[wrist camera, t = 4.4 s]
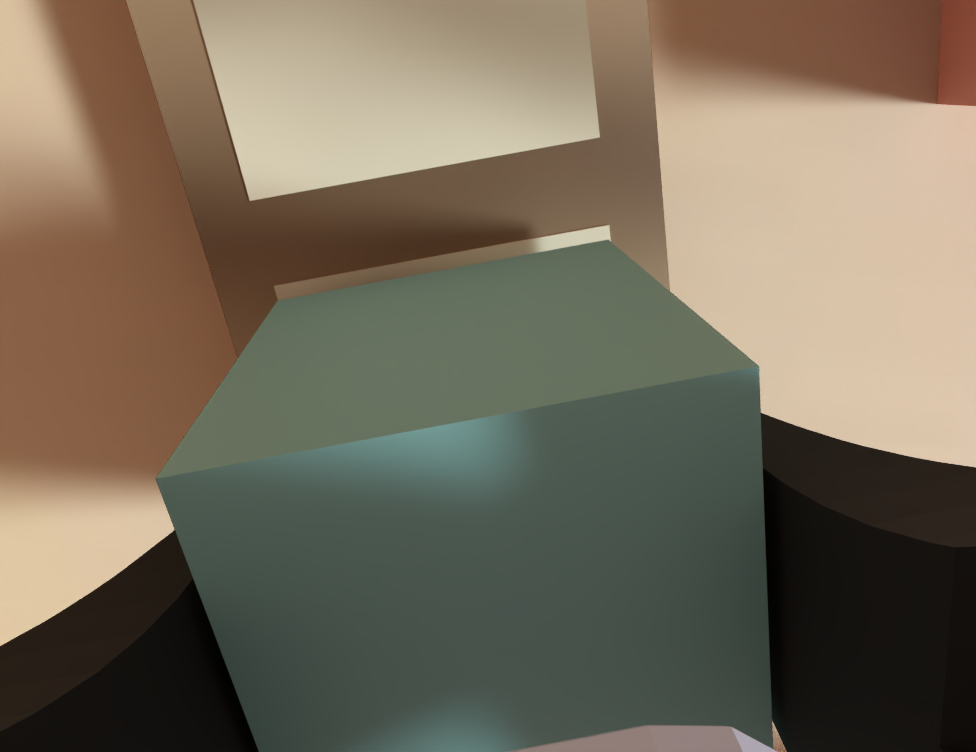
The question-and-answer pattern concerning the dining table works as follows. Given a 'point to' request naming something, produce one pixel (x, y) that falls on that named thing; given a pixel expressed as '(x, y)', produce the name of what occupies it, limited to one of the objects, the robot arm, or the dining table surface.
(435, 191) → the walnut base plate
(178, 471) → the teal block
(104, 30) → the dining table surface
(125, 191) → the dining table surface
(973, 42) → the brick block
